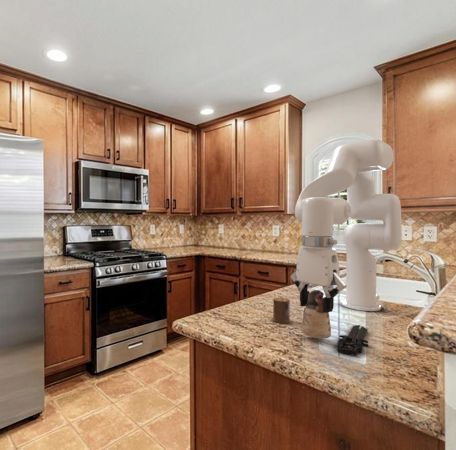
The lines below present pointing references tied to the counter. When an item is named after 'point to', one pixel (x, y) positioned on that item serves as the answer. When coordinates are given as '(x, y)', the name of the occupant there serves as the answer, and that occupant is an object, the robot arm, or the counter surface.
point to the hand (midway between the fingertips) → (315, 308)
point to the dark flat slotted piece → (356, 346)
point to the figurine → (315, 317)
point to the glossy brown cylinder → (281, 310)
